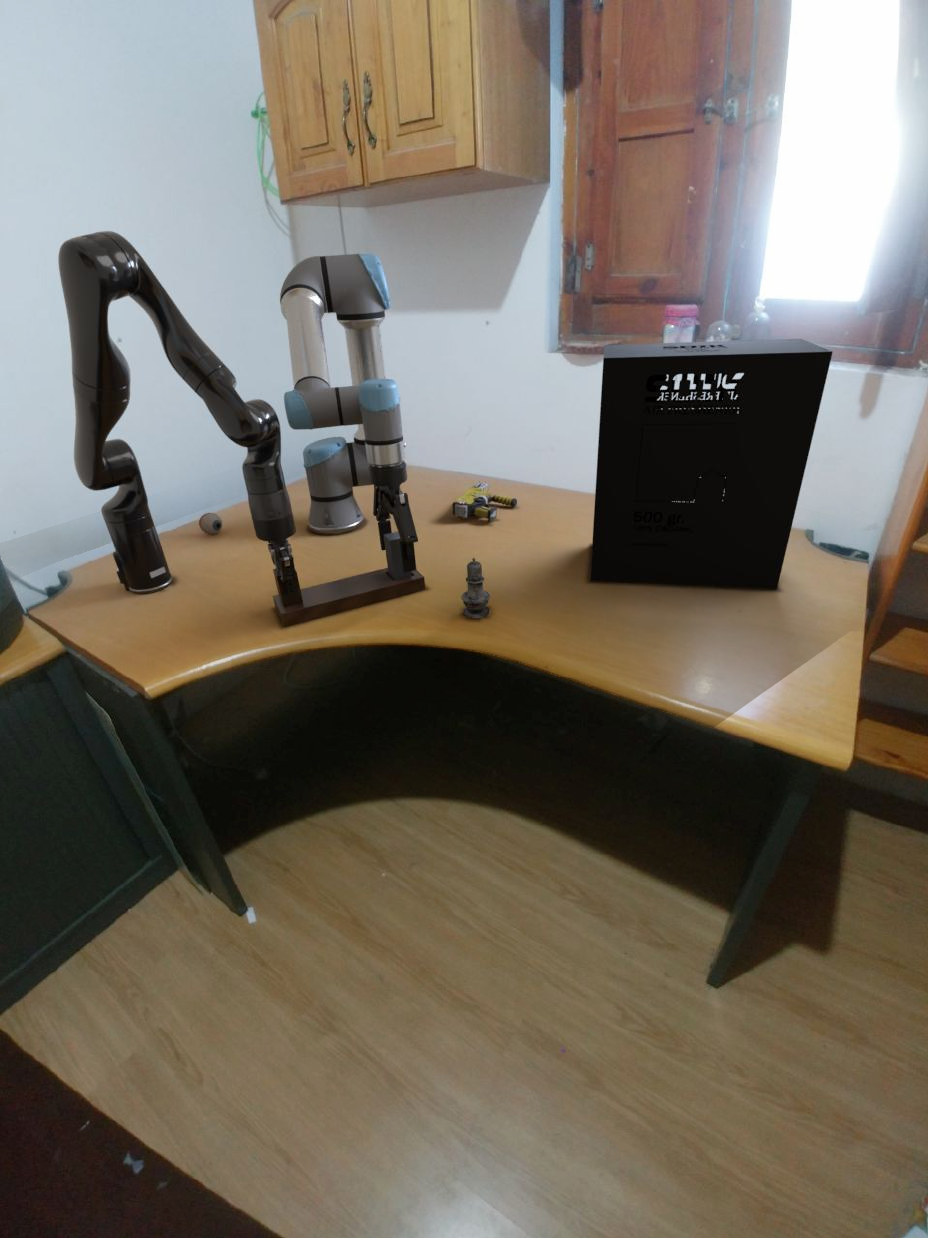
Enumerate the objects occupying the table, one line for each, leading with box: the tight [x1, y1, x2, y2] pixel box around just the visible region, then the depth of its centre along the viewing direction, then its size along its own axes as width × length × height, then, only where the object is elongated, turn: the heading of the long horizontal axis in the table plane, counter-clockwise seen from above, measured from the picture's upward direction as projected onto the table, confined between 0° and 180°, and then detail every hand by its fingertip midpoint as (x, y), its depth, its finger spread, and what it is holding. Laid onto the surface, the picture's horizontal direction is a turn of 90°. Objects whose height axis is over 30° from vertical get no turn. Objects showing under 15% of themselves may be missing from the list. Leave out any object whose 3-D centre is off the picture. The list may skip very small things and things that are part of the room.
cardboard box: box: [589, 338, 834, 590], centre depth 125 cm, size 38×20×45 cm, turn 78°
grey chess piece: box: [460, 557, 491, 619], centre depth 119 cm, size 6×6×12 cm
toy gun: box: [451, 480, 518, 523], centre depth 174 cm, size 5×24×15 cm
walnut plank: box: [272, 567, 426, 627], centre depth 128 cm, size 31×9×10 cm, turn 116°
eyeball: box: [198, 512, 223, 536], centre depth 167 cm, size 6×6×6 cm
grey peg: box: [384, 531, 412, 581], centre depth 132 cm, size 4×4×12 cm
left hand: (289, 591), depth 123 cm, fingers closed on walnut plank, 4 cm apart
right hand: (398, 559), depth 131 cm, fingers open, 13 cm apart
